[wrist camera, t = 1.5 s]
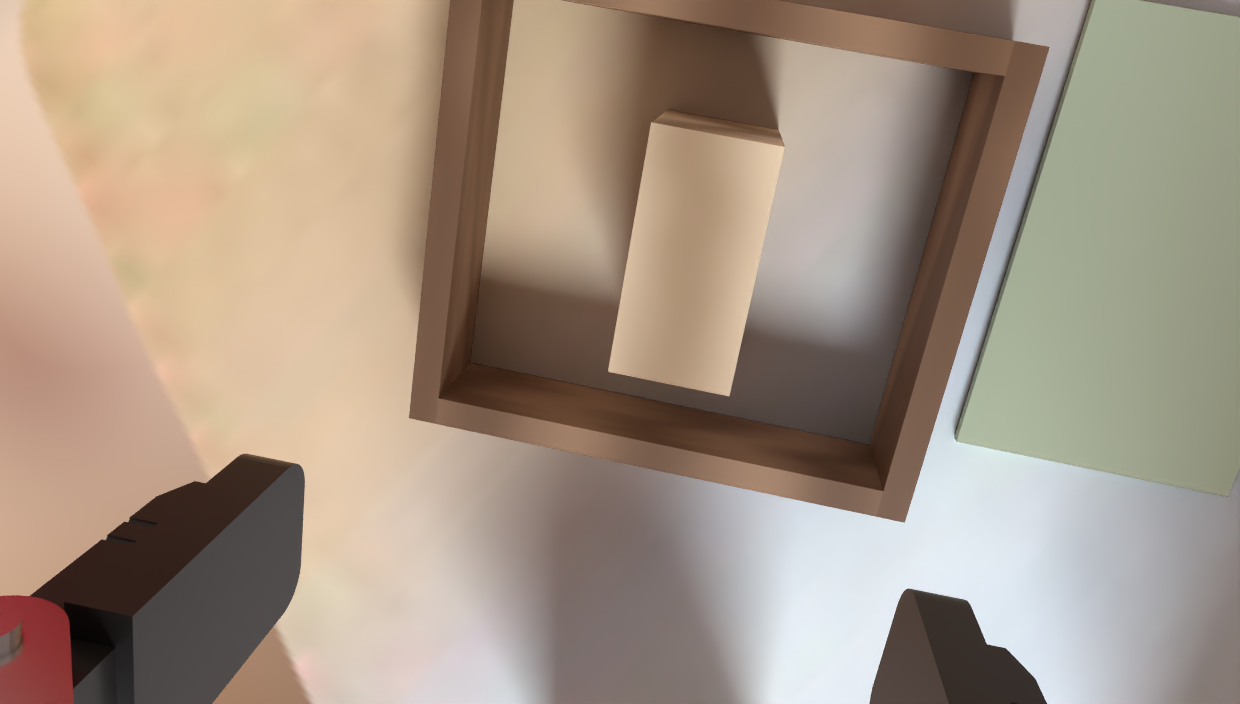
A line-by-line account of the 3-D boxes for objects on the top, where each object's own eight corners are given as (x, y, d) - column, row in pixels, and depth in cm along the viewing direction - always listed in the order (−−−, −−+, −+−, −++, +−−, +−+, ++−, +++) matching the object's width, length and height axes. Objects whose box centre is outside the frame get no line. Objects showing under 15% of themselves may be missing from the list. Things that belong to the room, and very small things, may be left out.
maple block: (778, 129, 33) (785, 147, 27) (732, 341, 35) (729, 396, 30) (667, 109, 33) (651, 122, 27) (630, 320, 36) (607, 371, 30)
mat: (1413, 47, 29) (1421, 48, 29) (1222, 491, 35) (1227, 497, 34) (1093, -7, 30) (1098, -8, 30) (954, 437, 35) (956, 441, 35)
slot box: (1012, 47, 31) (1049, 46, 27) (888, 473, 36) (904, 522, 32) (490, -44, 32) (456, -56, 28) (443, 380, 37) (409, 418, 34)
